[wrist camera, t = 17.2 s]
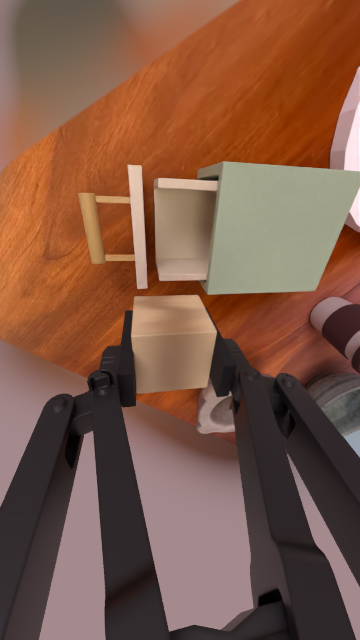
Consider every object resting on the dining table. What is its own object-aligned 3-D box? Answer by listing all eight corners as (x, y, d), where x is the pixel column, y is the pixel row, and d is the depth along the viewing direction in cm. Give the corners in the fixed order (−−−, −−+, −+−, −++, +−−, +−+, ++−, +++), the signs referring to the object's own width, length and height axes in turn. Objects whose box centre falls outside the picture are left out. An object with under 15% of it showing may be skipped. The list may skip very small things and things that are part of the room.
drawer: (101, 267, 30) (90, 290, 23) (84, 168, 23) (62, 160, 17) (224, 266, 32) (246, 285, 26) (239, 177, 26) (272, 174, 20)
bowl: (272, 408, 60) (294, 443, 52) (308, 354, 49) (341, 388, 41) (329, 406, 65) (357, 438, 57) (372, 356, 54) (414, 387, 46)
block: (138, 347, 18) (136, 394, 14) (133, 296, 15) (130, 335, 11) (193, 343, 19) (207, 387, 15) (198, 294, 16) (217, 331, 12)
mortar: (185, 402, 52) (193, 439, 44) (194, 352, 43) (206, 388, 35) (246, 397, 55) (263, 431, 47) (267, 349, 46) (292, 381, 38)
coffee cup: (318, 287, 39) (402, 333, 26) (358, 292, 41) (452, 337, 29) (294, 329, 44) (355, 385, 32) (331, 332, 46) (401, 385, 34)
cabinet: (190, 268, 33) (207, 294, 25) (197, 169, 26) (223, 161, 18) (274, 267, 35) (315, 291, 27) (301, 176, 28) (366, 171, 20)
